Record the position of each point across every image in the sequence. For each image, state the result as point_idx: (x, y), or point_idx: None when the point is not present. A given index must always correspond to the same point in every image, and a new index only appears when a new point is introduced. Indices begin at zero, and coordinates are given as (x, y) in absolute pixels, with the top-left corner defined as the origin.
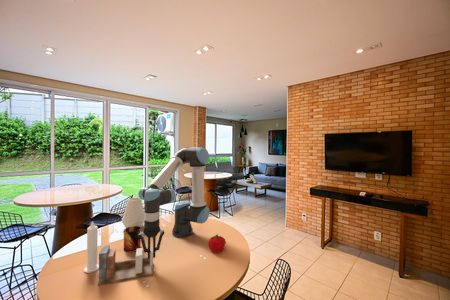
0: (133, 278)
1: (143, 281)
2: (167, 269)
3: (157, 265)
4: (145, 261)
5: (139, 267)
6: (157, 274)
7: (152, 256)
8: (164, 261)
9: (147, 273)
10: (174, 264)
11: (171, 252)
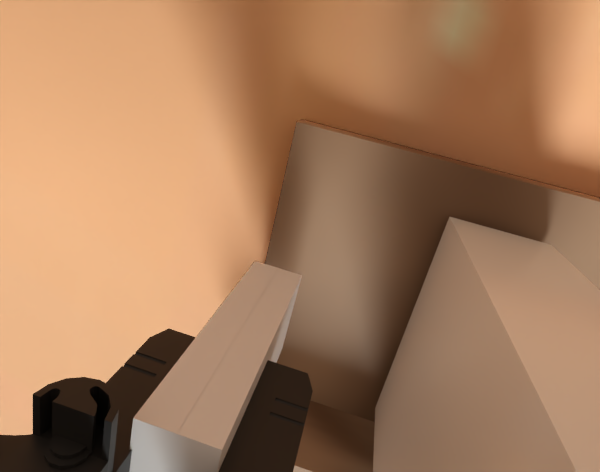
0: (583, 195)
1: (473, 32)
2: (101, 140)
3: (202, 303)
4: (329, 431)
5: (517, 264)
6: (242, 99)
7: (201, 353)
8: (113, 331)
9: (373, 163)
10: (9, 199)
11: None
